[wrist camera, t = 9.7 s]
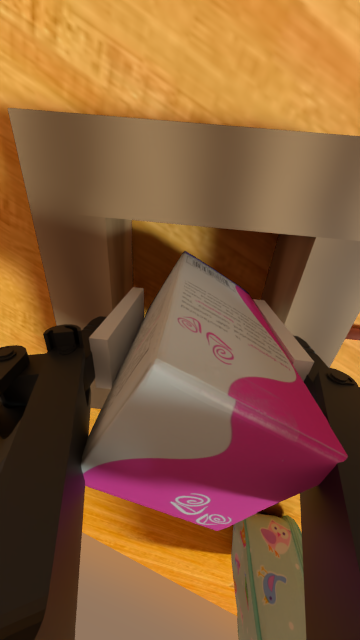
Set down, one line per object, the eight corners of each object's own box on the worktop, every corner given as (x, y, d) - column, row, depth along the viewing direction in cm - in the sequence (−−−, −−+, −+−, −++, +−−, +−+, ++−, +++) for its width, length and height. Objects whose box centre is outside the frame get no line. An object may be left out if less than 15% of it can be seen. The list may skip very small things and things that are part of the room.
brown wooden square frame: (99, 367, 22) (74, 405, 18) (69, 143, 13) (7, 107, 9) (274, 387, 22) (295, 431, 17) (363, 168, 13) (450, 143, 9)
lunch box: (277, 561, 44) (339, 825, 25) (228, 557, 45) (252, 809, 26) (298, 499, 32) (450, 920, 13) (231, 497, 33) (280, 882, 14)
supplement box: (144, 314, 16) (57, 484, 6) (184, 248, 14) (153, 345, 3) (204, 349, 17) (218, 542, 7) (252, 293, 15) (378, 468, 5)
